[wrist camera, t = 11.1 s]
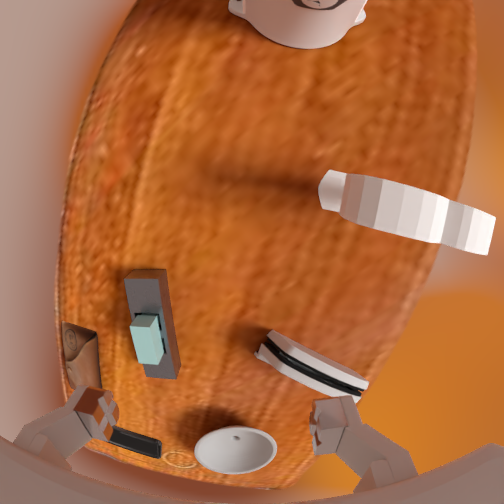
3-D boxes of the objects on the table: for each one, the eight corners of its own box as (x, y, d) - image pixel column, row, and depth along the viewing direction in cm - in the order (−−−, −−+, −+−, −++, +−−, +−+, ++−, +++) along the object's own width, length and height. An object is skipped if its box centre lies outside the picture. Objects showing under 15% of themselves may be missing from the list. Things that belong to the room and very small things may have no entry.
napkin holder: (251, 352, 41) (267, 379, 31) (268, 326, 41) (288, 345, 32) (334, 390, 43) (363, 416, 33) (349, 367, 44) (381, 389, 34)
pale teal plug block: (144, 305, 38) (129, 326, 32) (163, 305, 38) (149, 327, 32) (151, 339, 40) (138, 363, 34) (169, 340, 40) (158, 364, 34)
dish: (251, 461, 49) (251, 479, 45) (187, 445, 48) (184, 463, 43) (291, 417, 45) (294, 437, 40) (215, 396, 43) (212, 417, 39)
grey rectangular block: (133, 269, 37) (123, 278, 34) (166, 269, 37) (158, 278, 34) (152, 363, 42) (146, 376, 38) (181, 365, 42) (176, 379, 38)
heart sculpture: (417, 192, 34) (511, 214, 17) (410, 227, 36) (498, 268, 18) (314, 166, 34) (373, 163, 16) (307, 205, 35) (358, 239, 18)
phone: (160, 459, 49) (100, 439, 48) (161, 456, 50) (101, 436, 49) (161, 443, 47) (95, 421, 46) (162, 439, 48) (97, 417, 47)
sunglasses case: (58, 317, 40) (56, 340, 34) (95, 318, 43) (98, 340, 38) (71, 389, 44) (73, 413, 39) (102, 388, 48) (107, 412, 43)
